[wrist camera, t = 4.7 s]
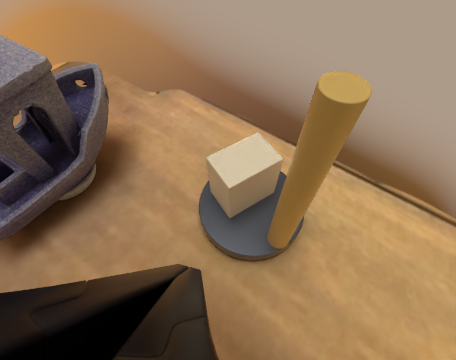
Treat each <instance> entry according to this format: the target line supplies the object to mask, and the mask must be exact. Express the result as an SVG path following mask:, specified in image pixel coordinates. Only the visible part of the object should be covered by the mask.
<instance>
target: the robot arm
mask: <svg viewBox="0 0 456 360" xmlns="http://www.w3.org/2000/svg"><path fill="white" fill-rule="evenodd" d="M0 360H219V358H218V355H217V353H216V349H215V346H214V343H213V340H212V336H211V331H210V327H209V320H208V316H207V309H206V302H205V295H204V288H203V282H202V275H201V270H199V269H195V268H192V267H190V268H189V267H188V266H184V265H181V264H176V265H170V266H165V267H159V268H154V269H148V270H143V271H137V272H132V273H126V274H121V275H115V276H110V277H104V278H99V279H93V280H88V281H79V282H74V283H68V284H62V285H56V286H50V287H43V288H36V289H29V290H21V291H14V292H6V293H0Z"/></svg>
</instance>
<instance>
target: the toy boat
mask: <svg viewBox="0 0 456 360" xmlns="http://www.w3.org/2000/svg"><path fill="white" fill-rule="evenodd" d="M51 69H52V65H51V63H50V62H49V60H48V59H47V57H45V56H43V55H41V54H39V53H37V52H35V51H33V50H31V49H29V48H26V47H25V46H23V45H20V44H18V43H16V42H14V41H12V40H10V39H8V38H5V37H3V36H0V240H3V239H6V238H10V237H11V236H13V235H14V234H15V233H17V232H18V231H19V230H21V229H22V228H23V227H24V226H26V225H27V224H28V223H30V222H31V221H32V220H33V219H34V218H36V217H37V216H38V215H40V214H41V213H42V212H43V211H45V210H46V209H47V208H48V207H50V206H51V205H52V204H53V203H54V202H56V201H57V200H65V199H69V198H72V197H74V196H76V195H78V194H80V193H81V192H83V191H84V190H85V189H86V188H87V187H88V186H89V185H90V184H91V182H92V181H93V179H94V177H95V173H96V164H95V160H96V158H97V156H98V154H99V151H100V149H101V147H102V144H103V141H104V138H105V134H106V129H107V123H108V103H109V98H108V92H107V88H106V86H105V85H104V82H103V75H102V73H101V69H100V68H99V66H98V65H97V64H95V63H89V64H85V65H79V66H76V67H73V68H70V69H67V70H65V71H63V72H61V73H59V74H56V75H54V76H53V74H52V72H51ZM76 80H82V81H84V82H85V83H84V84H83V85H87V86H86V87H81V86H78V85H77V84H76V83H75V81H76ZM20 110H22V111H21V113H22V120H21V121H20V123H19V124H18V125H17V126H16V127H15V128H14V126H13V118H14V117H15V116H16V115H17V114H19V111H20Z"/></svg>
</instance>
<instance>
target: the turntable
mask: <svg viewBox="0 0 456 360" xmlns="http://www.w3.org/2000/svg"><path fill="white" fill-rule="evenodd" d="M371 93H372V89H371V86H370V84H369V83H368V82H367V81H366V80H365V79H364V78H362V77H361V76H359V75H357V74H353V73H350V72H346V71H332V72H328V73H326V74H324V75H322V76H321V77H320V78H319V80H318V82H317V85H316V88H315V91H314V95H313V97H312V100H311V104H310V107H309V110H308V113H307V116H306V119H305V122H304V125H303V128H302V131H301V134H300V137H299V140H298V143H297V146H296V149H295V152H294V155H293V158H292V161H291V164H290V167H289V170H288V173H287V176H286V175H285V174H284V173H282V172H281V171H280V169H281V166H282V162H283V158H282V157H281V156H280V154H279V153H278V152H277V151H276V150H275V149H274V148H273V147H272V146H271V145H270V144H269V143H268V142H267V141H266V140H265V139H264V138H263V137H262V136H261V135H260V134H259V133H258V132H257V133H255V134H253V135H251V136H249V137H247V138H244V139H242V140H240V141H238V142H236V143H234V144H232V145H230V146H228V147H226V148H224V149H222V150H220V151H218V152H216V153H214V154H212V155H210V156H208V157H206V162H207V169H208V177H209V181H208V182H207V184H206V185H205V187H204V189H203V191H202V193H201V197H200V201H199V213H200V218H201V223H202V226H203V229H204V231H205V233H206V235H207V237H208V238H209V239H210V241H211V242H212V243H213V244H214V245H215V246H216V247H217V248H218V249H220V250H221V251H222V252H224V253H226V254H228V255H230V256H232V257H235V258H238V259H242V260H252V261H256V260H264V259H268V258H271V257H273V256H276V255H278V254H279V253H281V252H283V251H284V250H285V249H286V248H288V247H289V246H290V244H291V243H292V242H293V241H294V239H295V238H296V236H297V234H298V233H299V231H300V229H301V227H302V223H303V219H304V214H305V212H306V211H307V209H308V207H309V205H310V203H311V202H312V200H313V198H314V196H315V194H316V193H317V191H318V189H319V187H320V186H321V184H322V182H323V180H324V178H325V177H326V175H327V173H328V171H329V170H330V168H331V166H332V164H333V162H334V161H335V159H336V157H337V155H338V154H339V152H340V150H341V148H342V146H343V145H344V143H345V141H346V139H347V137H348V136H349V134H350V132H351V130H352V129H353V127H354V125H355V123H356V121H357V120H358V118H359V116H360V114H361V113H362V111H363V109H364V107H365V105H366V104H367V102H368V100H369V98H370V96H371Z"/></svg>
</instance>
